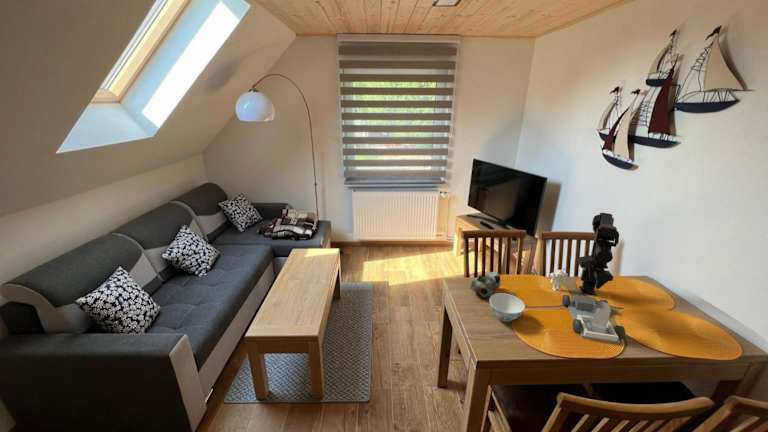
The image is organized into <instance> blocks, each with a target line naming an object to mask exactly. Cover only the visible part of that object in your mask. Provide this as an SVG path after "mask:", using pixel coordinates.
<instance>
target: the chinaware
mask: <svg viewBox="0 0 768 432" xmlns="http://www.w3.org/2000/svg"><path fill="white" fill-rule="evenodd" d="M489 305H490V308H491V311H492V313H493V314H494V315H495V316H496V317H497V319H499V320H500V321H502V322H504V323H507V322H511V321H514V320H516V319H519V318H520V317H521V316H522V315H523V313H524V311H525V309H526V305H525V303H524V301H523V300H522V299H520V298H519V297H517V296H515V295H513V294H509V293H504V292H503V293H501V292H500V293H494V295H492V296H491V297H490V298H489Z"/></svg>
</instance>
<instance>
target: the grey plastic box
mask: <svg viewBox="0 0 768 432" xmlns="http://www.w3.org/2000/svg"><path fill="white" fill-rule="evenodd" d="M596 300H597V299H596ZM596 300H595V302H594V306H593V309H592V313H591V317H590V320H589V329H590V331H591V332H597V333H605V330H606V326H607V323H608V320H609V319H610V316H611V312H612V311H611V306H610V303H609V302H608V303H605V302H600V300H597V301H596Z"/></svg>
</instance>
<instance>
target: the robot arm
mask: <svg viewBox="0 0 768 432" xmlns="http://www.w3.org/2000/svg"><path fill="white" fill-rule="evenodd" d="M614 222H615V218H614V217H613V214H611V213H606V212H600V213H599V214H597V215H594V217H593V219H592V222H591V226H592V231H593V234H594V239H593V243H592V247H591V252H590V253H591V254H590V255H589V254H586V255H584V256H579V257H577V263H578V265H579V266H580V268H581V269H582V271H581V274H580V281H581V282H582V285H579V286H578V288H579V291H580V292H581V294H584V295H592V296H593V295H594V296H597V293H596V291H595V290H599V289H600V288H603V286H605V284H607V283H608V282H613V280H614V275H613V274H612V273H611V271H609V270H608V268H609V266H608V263H610V262H612V261H613V259H614V256H613V251H612V250H613V249H612V247H614V248H617V245H619V240H620V232H619V231H618V229H617V227H616V226H614Z"/></svg>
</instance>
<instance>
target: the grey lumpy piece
mask: <svg viewBox="0 0 768 432" xmlns="http://www.w3.org/2000/svg"><path fill="white" fill-rule="evenodd" d="M500 274H501V273H500V272H499V273H497V272H494V271H490V272H486V273H485V275H484V277H483V276H482V274H479V275H478V277H477V278H474V279H473V280H472V281H471V284H470V289H471V290H473V291H474V292H475V293H477V294H478V295H480V296H481V297H483V298H485V299H486V298H487V299H488V300H490V297H491V296H492V295H494V294H495V292H496V291H497V289H499V288H500V287H501V283H502V279H501V275H500Z"/></svg>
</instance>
